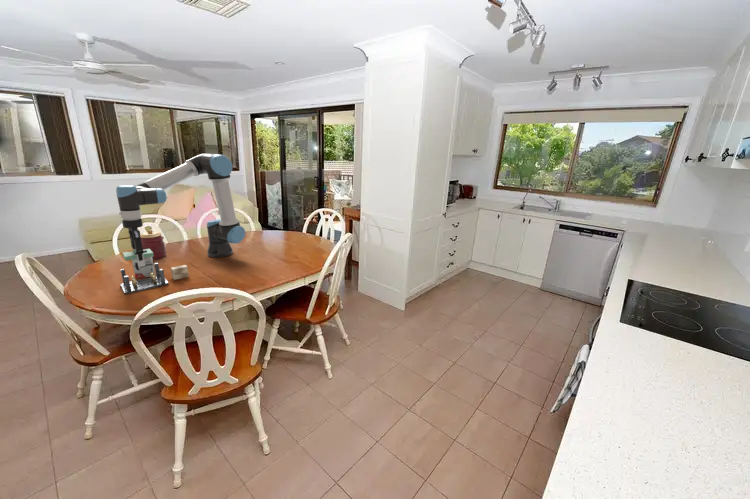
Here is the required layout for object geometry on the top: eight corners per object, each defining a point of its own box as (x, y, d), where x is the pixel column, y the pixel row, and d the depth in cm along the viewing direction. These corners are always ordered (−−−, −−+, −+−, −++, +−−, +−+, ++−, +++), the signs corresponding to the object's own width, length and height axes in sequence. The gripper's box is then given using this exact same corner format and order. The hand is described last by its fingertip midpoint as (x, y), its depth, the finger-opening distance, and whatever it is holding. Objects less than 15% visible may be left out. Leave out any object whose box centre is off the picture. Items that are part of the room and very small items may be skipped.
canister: (143, 261, 187) (137, 233, 182) (140, 255, 196) (135, 228, 191) (168, 257, 195) (163, 230, 190) (164, 252, 204) (160, 226, 199)
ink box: (135, 278, 164) (131, 257, 160) (136, 275, 167) (131, 254, 164) (155, 275, 168) (151, 255, 165) (155, 272, 172) (151, 252, 168)
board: (150, 252, 158) (149, 247, 157) (153, 256, 153) (152, 251, 152) (123, 256, 151) (122, 251, 150) (125, 260, 145) (124, 255, 145)
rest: (187, 274, 171) (185, 264, 169) (188, 276, 169) (187, 266, 167) (172, 278, 167) (170, 267, 165) (174, 279, 164) (172, 269, 162)
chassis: (162, 276, 167) (160, 262, 165) (168, 284, 159) (166, 269, 156) (120, 285, 155) (117, 269, 152) (124, 294, 146) (121, 278, 144)
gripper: (118, 215, 151) (127, 259, 157) (125, 223, 137) (134, 271, 144) (137, 214, 156) (144, 256, 163) (145, 221, 142) (153, 268, 149)
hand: (140, 263), depth 153 cm, fingers closed on board, 8 cm apart
